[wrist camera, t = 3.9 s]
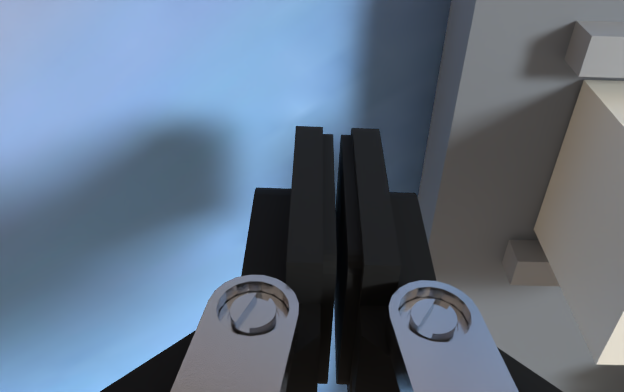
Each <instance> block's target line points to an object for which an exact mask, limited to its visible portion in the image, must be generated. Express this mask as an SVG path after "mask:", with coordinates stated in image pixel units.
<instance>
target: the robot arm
mask: <svg viewBox="0 0 624 392" xmlns="http://www.w3.org/2000/svg"><path fill="white" fill-rule="evenodd" d="M333 308H335V350H336V383H337V384H347V390H348V392H563V391H561V390H560V389H558V388H557V387H555V386H554V385H552V384H551V383H549V382H548V381H547V380H545V379H544V378H542V377H541V376H539V375H538V374H536V373H535V372H533V371H532V370H530V369H529V368H527V367H526V366H524V365H523V364H521V363H520V362H518V361H517V360H515V359H514V358H513V357H511V356H510V355H508V354H507V353H505V352H504V351H502V350H501V349H499V348H498V347H497V346H496V344H495V342H494V340H493V338H492V336H491V334H490V332H489V330H488V328H487V325H486V323H485V321H484V319H483V317H482V315H481V313H480V311H479V309H478V308H477V306H476V305H475V303H474V302H473V301H472V299H471V298H470V297H468V296H467V295H466V294H465V293H463V292H462V291H461V290H459V289H457V288H455V287H453V286H451V285H449V284H446V283H442V282H438V281H436V276H435V272H434V267H433V263H432V258H431V254H430V250H429V245H428V241H427V236H426V232H425V227H424V223H423V219H422V214H421V210H420V205H419V201H418V197H417V195H416V194H415V193H398V192H389V187H388V180H387V174H386V168H385V162H384V156H383V149H382V143H381V137H380V131H379V129H364V128H352V130H351V135H341V141H340V154H339V168H338V182H337V196H336V209H335V183H334V151H333V134H323V127H307V126H296V134H295V148H294V162H293V175H292V189H281V188H256V189H255V193H254V200H253V206H252V212H251V218H250V225H249V231H248V237H247V244H246V250H245V256H244V263H243V269H242V275H241V277H236V278H234V279H232V280H230V281H227V282H225V283H224V284H222V285H221V286H220V287H219V288H218V289H216V290H215V291H214V293H213V294H212V296H211V297H210V299H209V300H208V303H207V305H206V307H205V310H204V312H203V315H202V317H201V319H200V322H199V324H198V327H197V329H196V330H195V331H194V332H192V333H191V334H189V335H188V336H186V337H185V338H183V339H181V340H180V341H178V342H177V343H175V344H174V345H172V346H170V347H169V348H167V349H166V350H164V351H163V352H161V353H160V354H158V355H156V356H155V357H153V358H152V359H150V360H149V361H147V362H145V363H144V364H142V365H141V366H139V367H138V368H136V369H135V370H133V371H131V372H130V373H128V374H127V375H125V376H124V377H122V378H120V379H119V380H117V381H116V382H114V383H113V384H111V385H110V386H108V387H106V388H105V389H103V390H102V391H100V392H317V383H319V384H327V382H328V371H329V358H330V346H331V333H332V321H333Z"/></svg>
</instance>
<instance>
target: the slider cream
mask: <svg viewBox="0 0 624 392" xmlns="http://www.w3.org/2000/svg"><path fill="white" fill-rule="evenodd" d="M534 231H535V233H536V236H537V238H538V240H539V242H540V244H541V246H542V248H543V251H544V253H545V255H546V257H547V259H548V261H549V264H550V266H551V268H552V270H553V272H554V274H555V277H556V279H557V281H558V283H559V285H560V287H561V290H562V292H563V294H564V296H565V298H566V300H567V303H568V305H569V307H570V309H571V311H572V313H573V315H574V318H575V320H576V322H577V324H578V326H579V328H580V331H581V333H582V335H583V337H584V339H585V341H586V344H587V346H588V348H589V350H590V352H591V354H592V357H593V359H594V361H595V363H596V364H600V365H624V81H609V80H584V81H583V84H582V87H581V90H580V93H579V96H578V99H577V101H576V104H575V107H574V110H573V113H572V116H571V119H570V122H569V125H568V128H567V131H566V134H565V137H564V140H563V143H562V146H561V149H560V152H559V155H558V158H557V161H556V164H555V167H554V170H553V173H552V176H551V179H550V182H549V185H548V188H547V191H546V194H545V197H544V200H543V203H542V206H541V209H540V212H539V215H538V218H537V221H536V224H535V227H534Z"/></svg>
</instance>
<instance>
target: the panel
mask: <svg viewBox="0 0 624 392" xmlns="http://www.w3.org/2000/svg"><path fill="white" fill-rule="evenodd" d="M584 80H609V81H624V0H451V5H450V10H449V16H448V22H447V28H446V34H445V40H444V46H443V52H442V58H441V63H440V69H439V75H438V81H437V87H436V93H435V99H434V105H433V111H432V117H431V122H430V128H429V134H428V140H427V146H426V152H425V158H424V164H423V170H422V175H421V181H420V187H419V193H418V201H419V205H420V210H421V214H422V219H423V223H424V227H425V232H426V236H427V241H428V245H429V250H430V254H431V258H432V263H433V267H434V272H435V276H436V281H438V282H442V283H446V284H449V285H451V286H453V287H455V288H457V289H459V290H461V291H462V292H463V293H465V294H466V295H467V296H468V297H470V298H471V299H472V301H473V302H474V303H475V305H476V306H477V308H478V309H479V311H480V313H481V315H482V317H483V319H484V321H485V323H486V325H487V328H488V330H489V332H490V334H491V336H492V338H493V340H494V342H495V344H496V346H497V347H498V348H499V349H501V350H502V351H504V352H505V353H507V354H508V355H510V356H511V357H513V358H514V359H515V360H517V361H518V362H520V363H521V364H523V365H524V366H526V367H527V368H529V369H530V370H532V371H533V372H535V373H536V374H538V375H539V376H541V377H542V378H544V379H545V380H547V381H548V382H549V383H551V384H552V385H554V386H555V387H557V388H558V389H560V390H561V391H563V392H624V365H600V364H596V363H595V361H594V359H593V357H592V354H591V352H590V350H589V348H588V346H587V344H586V341H585V339H584V337H583V335H582V333H581V331H580V328H579V326H578V324H577V322H576V320H575V318H574V315H573V313H572V311H571V309H570V307H569V305H568V303H567V300H566V298H565V296H564V294H563V292H562V290H561V287H560V285H559V283H558V281H557V279H556V277H555V274H554V272H553V270H552V268H551V266H550V264H549V261H548V259H547V257H546V255H545V253H544V251H543V248H542V246H541V244H540V242H539V240H538V238H537V236H536V233H535V231H534V227H535V224H536V221H537V218H538V215H539V212H540V209H541V206H542V203H543V200H544V197H545V194H546V191H547V188H548V185H549V182H550V179H551V176H552V173H553V170H554V167H555V164H556V161H557V158H558V155H559V152H560V149H561V146H562V143H563V140H564V137H565V134H566V131H567V128H568V125H569V122H570V119H571V116H572V113H573V110H574V107H575V104H576V101H577V99H578V96H579V93H580V90H581V87H582V84H583V81H584Z"/></svg>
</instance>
